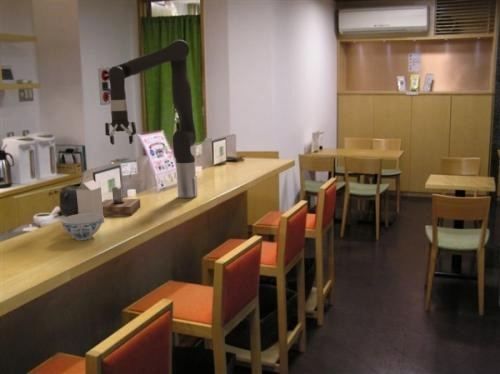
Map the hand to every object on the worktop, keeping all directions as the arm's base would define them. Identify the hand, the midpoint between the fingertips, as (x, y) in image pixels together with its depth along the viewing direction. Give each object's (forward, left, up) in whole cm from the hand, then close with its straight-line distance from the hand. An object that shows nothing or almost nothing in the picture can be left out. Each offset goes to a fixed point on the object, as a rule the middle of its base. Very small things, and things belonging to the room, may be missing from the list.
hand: (121, 144), depth 276 cm
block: (-2, +20, -28) cm, 35 cm away
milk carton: (+3, +41, -28) cm, 50 cm away
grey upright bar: (-2, +20, -27) cm, 34 cm away
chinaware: (-1, +62, -28) cm, 68 cm away
